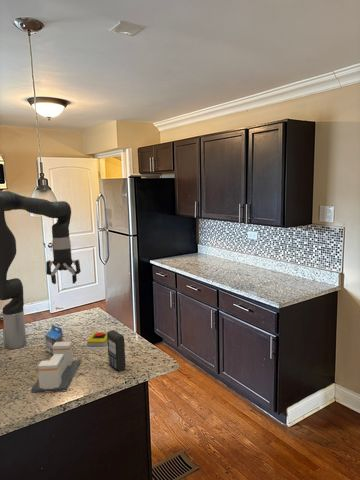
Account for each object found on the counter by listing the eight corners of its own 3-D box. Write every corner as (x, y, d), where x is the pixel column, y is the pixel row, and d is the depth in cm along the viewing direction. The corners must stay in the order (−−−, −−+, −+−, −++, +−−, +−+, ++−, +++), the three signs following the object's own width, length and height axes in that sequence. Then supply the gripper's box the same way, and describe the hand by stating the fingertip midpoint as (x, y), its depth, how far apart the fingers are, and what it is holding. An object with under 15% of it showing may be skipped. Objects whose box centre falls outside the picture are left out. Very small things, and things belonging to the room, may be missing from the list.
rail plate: (31, 392, 134) (31, 389, 133) (50, 364, 155) (50, 361, 155) (66, 391, 134) (66, 388, 134) (80, 362, 156) (80, 360, 156)
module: (50, 377, 141) (48, 361, 140) (55, 370, 148) (53, 354, 147) (60, 377, 142) (59, 360, 141) (65, 369, 148) (63, 353, 147)
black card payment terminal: (107, 364, 154) (105, 331, 151) (115, 361, 156) (113, 328, 154) (118, 372, 147) (116, 338, 144) (126, 369, 149) (124, 335, 147)
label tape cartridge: (46, 351, 168) (43, 326, 166) (53, 348, 171) (51, 324, 169) (56, 357, 162) (54, 331, 160) (64, 353, 165) (62, 328, 163)
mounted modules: (39, 388, 134) (37, 366, 133) (56, 361, 155) (55, 342, 154) (58, 387, 134) (56, 365, 133) (73, 360, 155) (71, 341, 154)
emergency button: (111, 328, 183) (104, 341, 168) (112, 336, 184) (104, 349, 169) (93, 328, 184) (84, 341, 169) (94, 337, 184) (85, 350, 169)
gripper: (42, 249, 151) (45, 286, 154) (76, 248, 152) (78, 285, 154) (48, 246, 159) (51, 281, 161) (80, 245, 159) (82, 280, 162)
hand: (64, 283), depth 158 cm, fingers open, 8 cm apart
